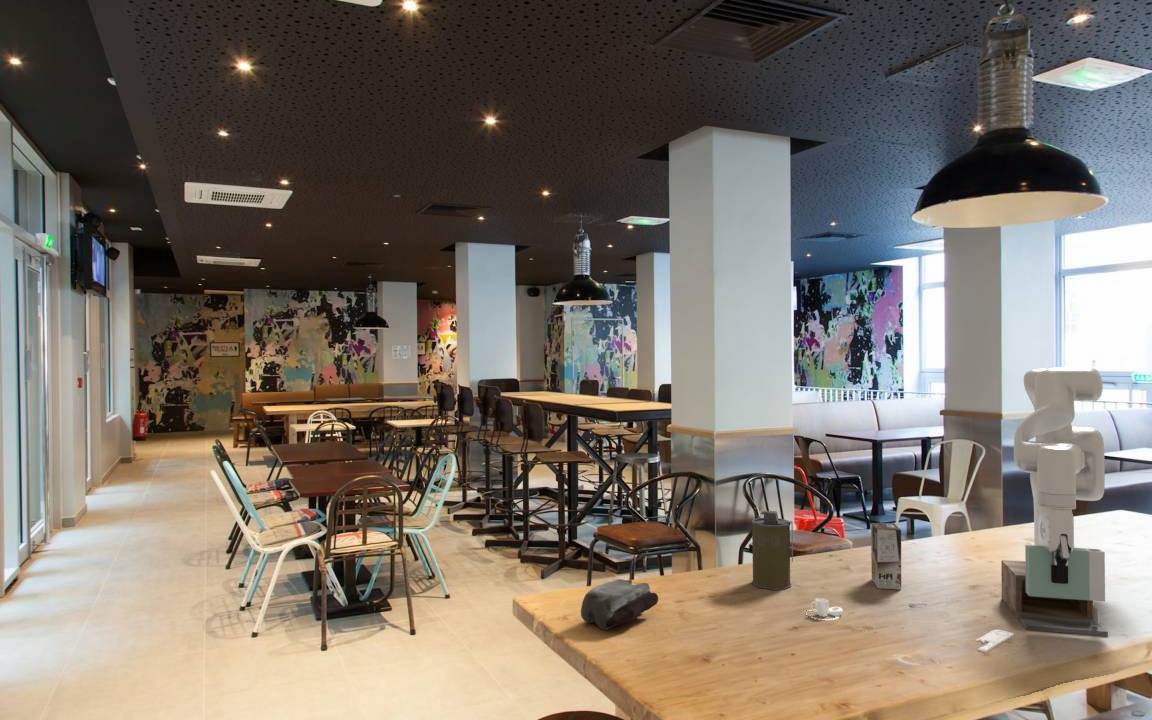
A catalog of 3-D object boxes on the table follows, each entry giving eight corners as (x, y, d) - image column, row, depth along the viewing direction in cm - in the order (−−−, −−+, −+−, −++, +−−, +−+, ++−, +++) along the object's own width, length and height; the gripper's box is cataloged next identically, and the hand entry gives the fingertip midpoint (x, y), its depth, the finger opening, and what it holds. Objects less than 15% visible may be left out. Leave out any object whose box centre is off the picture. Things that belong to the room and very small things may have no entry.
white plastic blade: (961, 647, 165) (961, 642, 165) (990, 631, 174) (990, 627, 174) (986, 654, 161) (986, 649, 161) (1014, 637, 170) (1014, 632, 171)
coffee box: (902, 590, 204) (901, 529, 204) (877, 588, 206) (876, 528, 206) (895, 580, 213) (894, 522, 213) (870, 579, 215) (870, 521, 215)
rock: (615, 639, 171) (615, 602, 171) (573, 628, 178) (573, 592, 178) (661, 616, 186) (660, 581, 186) (620, 607, 193) (620, 574, 193)
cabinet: (1001, 599, 196) (1001, 560, 196) (1073, 604, 191) (1072, 564, 191) (1026, 629, 174) (1026, 585, 174) (1108, 636, 169) (1107, 591, 169)
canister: (749, 587, 208) (748, 514, 208) (755, 577, 217) (754, 507, 217) (790, 592, 204) (789, 517, 204) (794, 581, 213) (794, 509, 213)
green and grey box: (1025, 592, 178) (1025, 544, 178) (1100, 597, 174) (1099, 549, 174) (1029, 596, 175) (1028, 548, 175) (1105, 601, 171) (1104, 552, 171)
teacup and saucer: (843, 613, 188) (842, 596, 188) (843, 624, 180) (843, 607, 180) (805, 610, 190) (805, 593, 190) (804, 620, 183) (804, 603, 183)
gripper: (1027, 493, 184) (1028, 570, 184) (1048, 506, 168) (1049, 589, 168) (1063, 495, 182) (1064, 572, 182) (1087, 507, 166) (1088, 592, 166)
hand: (1057, 580), depth 175 cm, fingers closed on green and grey box, 3 cm apart
